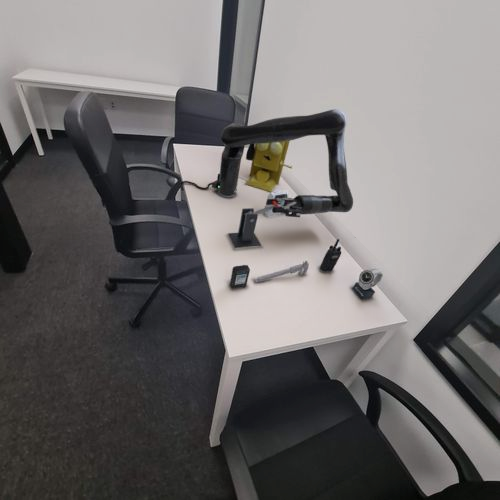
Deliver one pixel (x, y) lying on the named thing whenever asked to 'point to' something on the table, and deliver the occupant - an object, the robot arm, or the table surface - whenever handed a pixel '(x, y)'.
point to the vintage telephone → (266, 164)
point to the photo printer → (272, 196)
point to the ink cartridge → (239, 276)
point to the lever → (263, 209)
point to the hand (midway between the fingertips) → (270, 205)
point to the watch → (367, 283)
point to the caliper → (285, 272)
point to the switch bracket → (245, 231)
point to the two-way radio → (331, 258)
